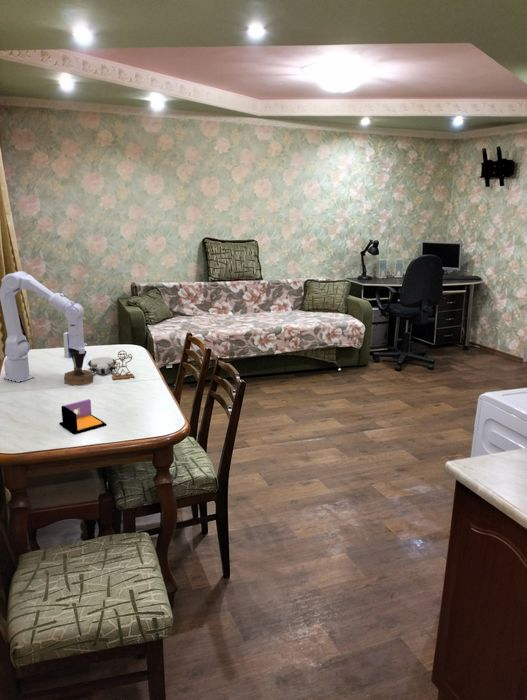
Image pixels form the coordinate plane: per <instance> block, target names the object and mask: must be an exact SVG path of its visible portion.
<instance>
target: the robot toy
mask: <svg viewBox="0 0 527 700" xmlns="http://www.w3.org/2000/svg"><path fill="white" fill-rule="evenodd" d="M116 359H117V356H116V357H114V358H113V357H110V356H107V357H106V356H105V357H104V356H100V357H93V358H92V359H90V360H88V361H87V366H88V367H90V370H89V371H92V372H93V374H95V373H97V374H98V375H107V374H108V373H109V372H111V373H116V372H117V370H118V369H116V367H113V362H114V360H116ZM117 361H118V360H116V361H115V362H114V363H116V364H117V363H118V362H117ZM114 366H116V365H114Z"/></svg>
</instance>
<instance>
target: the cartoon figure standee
mask: <svg viewBox="0 0 527 700" xmlns="http://www.w3.org/2000/svg"><path fill="white" fill-rule="evenodd" d="M121 352H123V353H121ZM122 355H123V356H122ZM117 357H118V358H116V359H114V362H115V361H119V360H120V362H121V363H122V364H121V363H120V362H117V363H114V362H113V367H114V368H117V367H118V369H116V370H117V371H116V372H115V374H113V375H111V379H112V381H121V380H122V379H123V380H131V379H130V378H133V379H135V375H134V373H131V371H130V370H129V369H128V367H127V363H128V364H129V363H130V362H131V361H132V359H133V355H132V354H131V353H130V354H127V352H126V351H125V350H123V349H122V350H120V351H118V353H117ZM127 359H129V360H128V361H125V360H127ZM124 362H125V365H124ZM114 365H115V366H114ZM120 368H122V369H121V371H120V373H119V370H120ZM123 368H126V370H127V372H126V371H125V370H124V369H123ZM122 373H123V374H122Z"/></svg>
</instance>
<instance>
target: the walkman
mask: <svg viewBox="0 0 527 700" xmlns="http://www.w3.org/2000/svg"><path fill="white" fill-rule="evenodd" d="M62 337H63V350H64V358H68V359H72V357H71V354H70V352H69V351H68V349H70V348H69V334H68V331H66V332H64V333H62Z"/></svg>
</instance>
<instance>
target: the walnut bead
mask: <svg viewBox="0 0 527 700" xmlns="http://www.w3.org/2000/svg"><path fill="white" fill-rule="evenodd" d="M63 380H64V381H63V382H64V384H65V385H68V386H74V385H77V386H86V385H89V384H91V383H94V373H93V372H92V371H90V370H88V369H82V374H79V375H76V374H75V373H74V369H73V370H70V371H67V372H65V373H64V375H63ZM85 384H86V385H85ZM74 387H75V386H74Z"/></svg>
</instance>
